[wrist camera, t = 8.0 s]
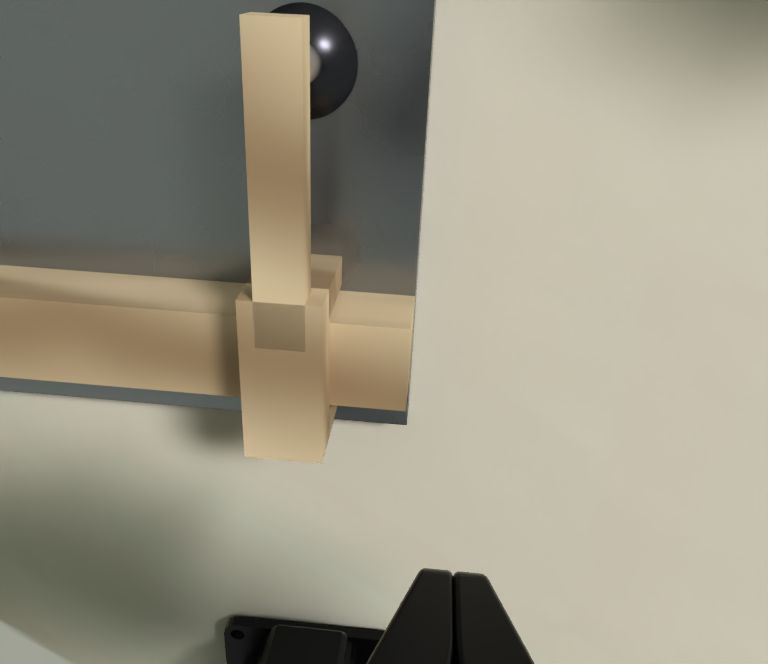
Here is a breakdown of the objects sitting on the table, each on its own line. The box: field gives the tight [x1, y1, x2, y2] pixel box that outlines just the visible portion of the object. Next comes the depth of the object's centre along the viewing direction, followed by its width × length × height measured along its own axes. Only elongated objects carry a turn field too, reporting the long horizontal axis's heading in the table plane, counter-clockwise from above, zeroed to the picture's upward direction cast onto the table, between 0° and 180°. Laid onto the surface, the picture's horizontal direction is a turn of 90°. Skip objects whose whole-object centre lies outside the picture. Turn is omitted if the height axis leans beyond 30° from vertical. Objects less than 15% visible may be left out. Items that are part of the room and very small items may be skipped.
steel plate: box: [0, 0, 436, 425], centre depth 19 cm, size 16×22×1 cm
